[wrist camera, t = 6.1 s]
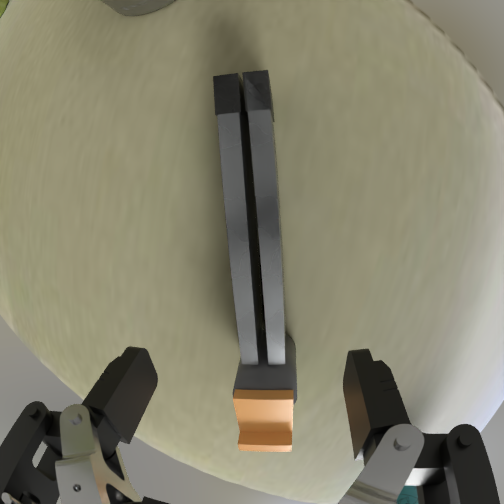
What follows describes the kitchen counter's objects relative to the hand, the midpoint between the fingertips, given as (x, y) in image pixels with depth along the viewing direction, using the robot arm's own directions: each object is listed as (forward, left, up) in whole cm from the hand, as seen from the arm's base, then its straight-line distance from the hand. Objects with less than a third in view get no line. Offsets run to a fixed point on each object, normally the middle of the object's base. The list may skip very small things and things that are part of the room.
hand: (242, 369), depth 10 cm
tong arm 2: (-3, -1, -12) cm, 13 cm away
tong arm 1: (-3, +1, -12) cm, 13 cm away
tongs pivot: (+9, 0, -12) cm, 16 cm away
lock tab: (+11, 0, -6) cm, 13 cm away
